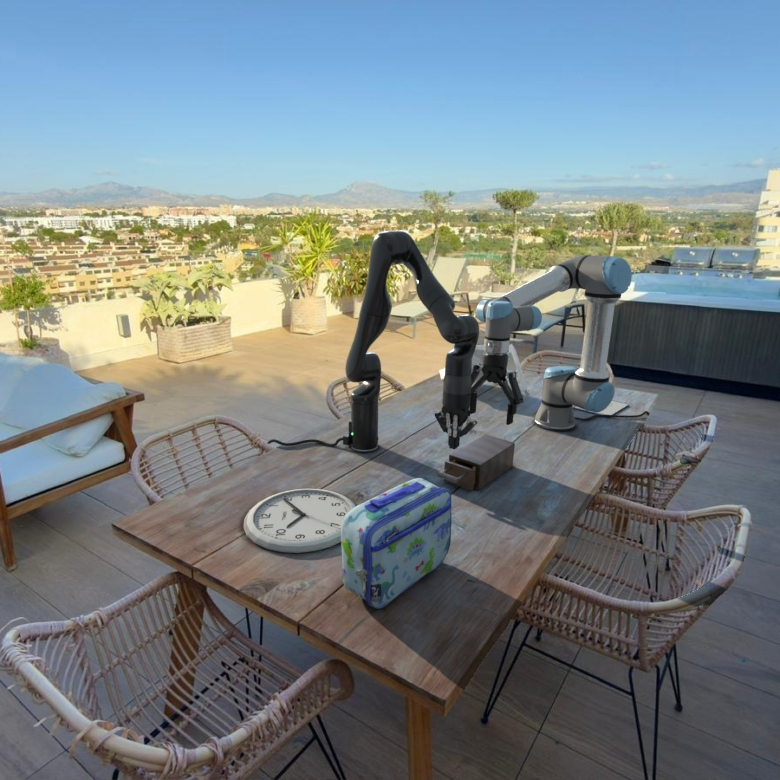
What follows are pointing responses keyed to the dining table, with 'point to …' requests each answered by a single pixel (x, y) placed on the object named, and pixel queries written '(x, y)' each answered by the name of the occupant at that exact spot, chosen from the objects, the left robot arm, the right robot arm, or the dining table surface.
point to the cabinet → (486, 458)
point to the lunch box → (395, 540)
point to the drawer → (459, 474)
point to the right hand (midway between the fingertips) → (490, 418)
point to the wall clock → (298, 520)
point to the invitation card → (609, 408)
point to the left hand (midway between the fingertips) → (453, 447)
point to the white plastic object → (513, 355)
